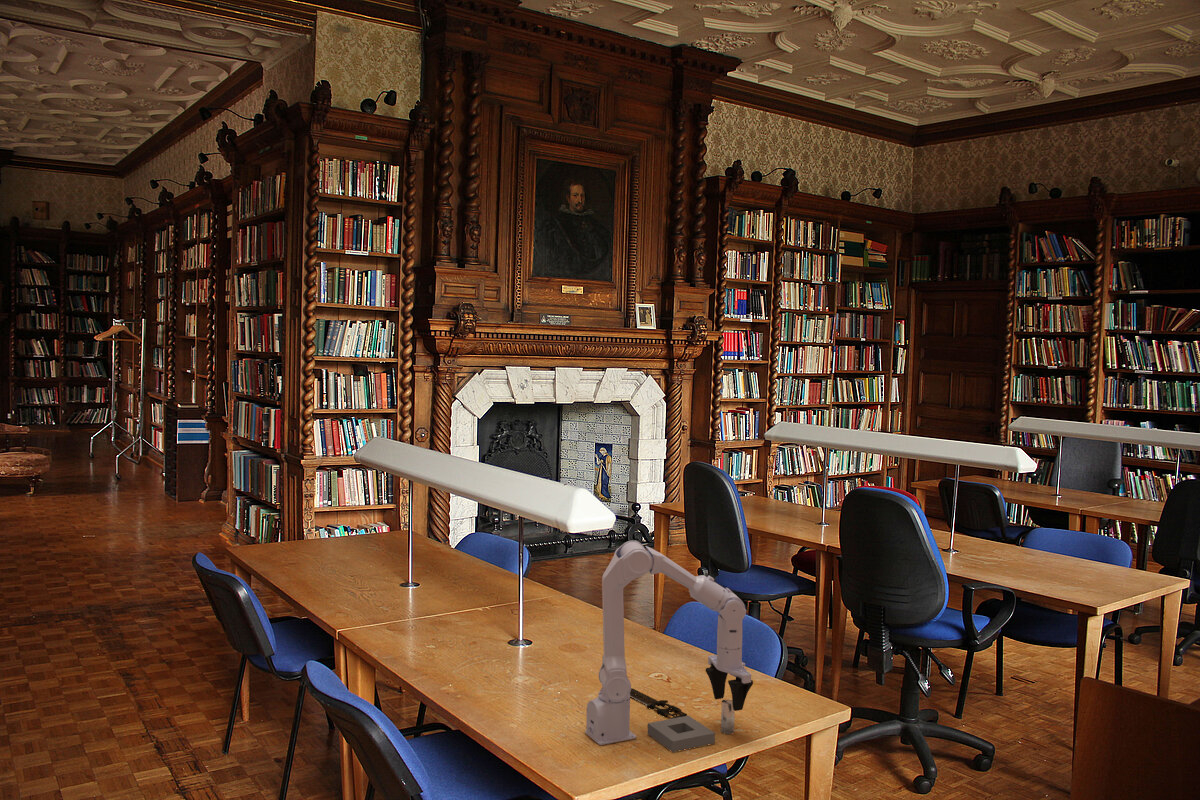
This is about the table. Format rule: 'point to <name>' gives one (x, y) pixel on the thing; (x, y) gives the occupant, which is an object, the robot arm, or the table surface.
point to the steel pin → (727, 717)
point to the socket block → (681, 733)
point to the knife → (655, 702)
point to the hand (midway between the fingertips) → (728, 704)
